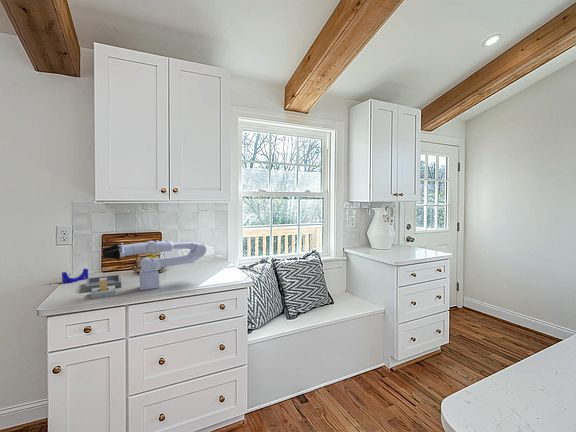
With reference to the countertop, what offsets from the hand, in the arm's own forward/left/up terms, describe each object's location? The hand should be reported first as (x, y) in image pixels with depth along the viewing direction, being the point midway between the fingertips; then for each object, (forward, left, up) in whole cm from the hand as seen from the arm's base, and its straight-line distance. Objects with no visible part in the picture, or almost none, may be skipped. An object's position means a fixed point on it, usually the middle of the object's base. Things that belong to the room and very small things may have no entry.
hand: (102, 253), depth 149 cm
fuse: (0, +1, -21) cm, 21 cm away
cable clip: (+14, -36, -21) cm, 44 cm away
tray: (0, -17, -21) cm, 27 cm away
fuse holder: (0, +1, -21) cm, 21 cm away
